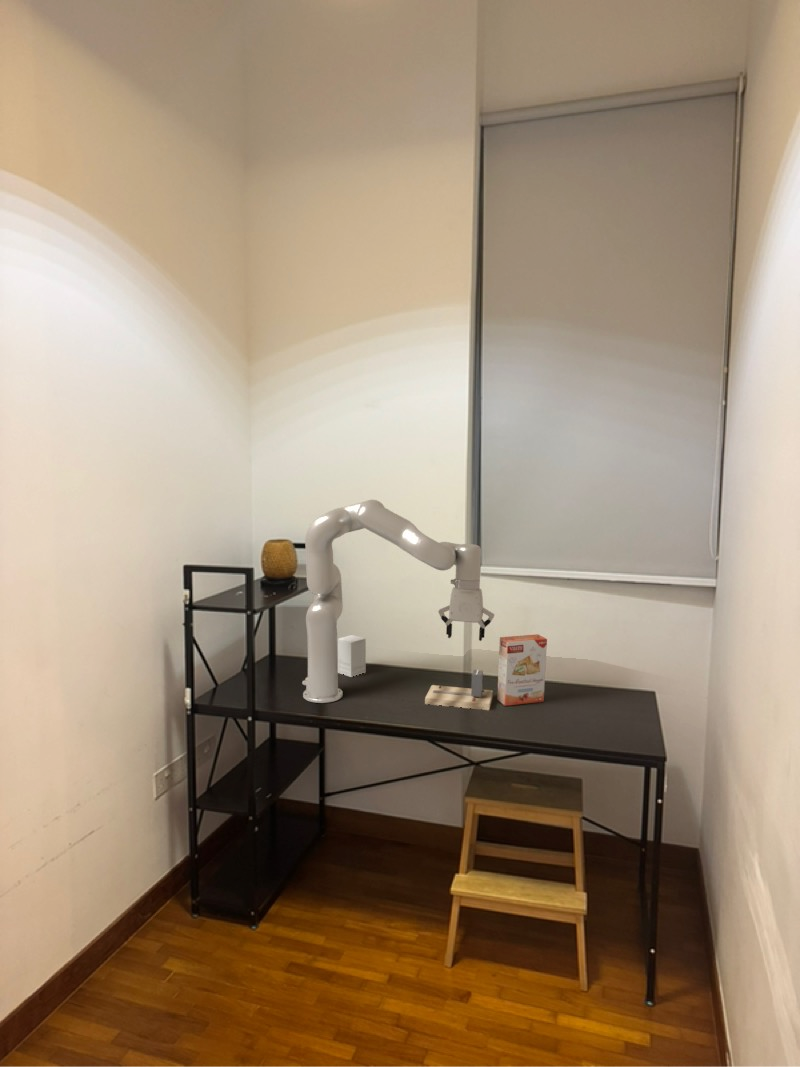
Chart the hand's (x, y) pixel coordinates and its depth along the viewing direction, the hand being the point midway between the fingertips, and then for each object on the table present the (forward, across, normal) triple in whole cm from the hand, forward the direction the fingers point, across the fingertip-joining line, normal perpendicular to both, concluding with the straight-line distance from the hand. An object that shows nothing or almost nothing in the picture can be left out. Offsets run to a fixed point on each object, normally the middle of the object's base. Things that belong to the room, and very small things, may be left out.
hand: (465, 638), depth 214 cm
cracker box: (+21, +18, +6) cm, 28 cm away
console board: (+21, -1, +2) cm, 21 cm away
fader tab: (+18, +4, +2) cm, 19 cm away
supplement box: (+22, -42, +19) cm, 51 cm away
